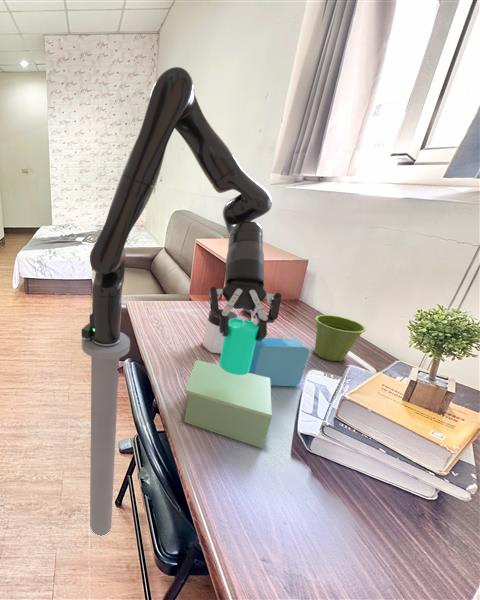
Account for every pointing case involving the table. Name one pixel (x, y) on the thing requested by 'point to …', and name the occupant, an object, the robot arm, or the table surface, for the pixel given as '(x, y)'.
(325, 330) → the plant pot
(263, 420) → the chest
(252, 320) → the soupspoon
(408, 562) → the table surface
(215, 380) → the chest lid
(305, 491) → the table surface
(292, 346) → the data package
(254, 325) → the candle
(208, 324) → the jar
